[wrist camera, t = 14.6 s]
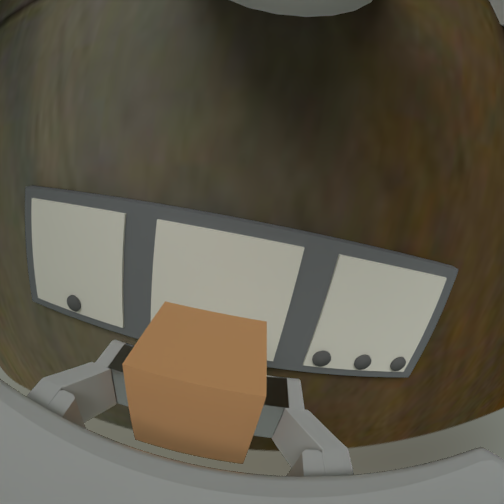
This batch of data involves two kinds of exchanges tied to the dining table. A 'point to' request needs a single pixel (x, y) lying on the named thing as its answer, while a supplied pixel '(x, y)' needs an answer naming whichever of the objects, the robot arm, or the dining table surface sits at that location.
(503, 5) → the bracket
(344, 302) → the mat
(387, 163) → the dining table surface
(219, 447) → the block
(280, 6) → the honey pot
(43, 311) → the dining table surface
